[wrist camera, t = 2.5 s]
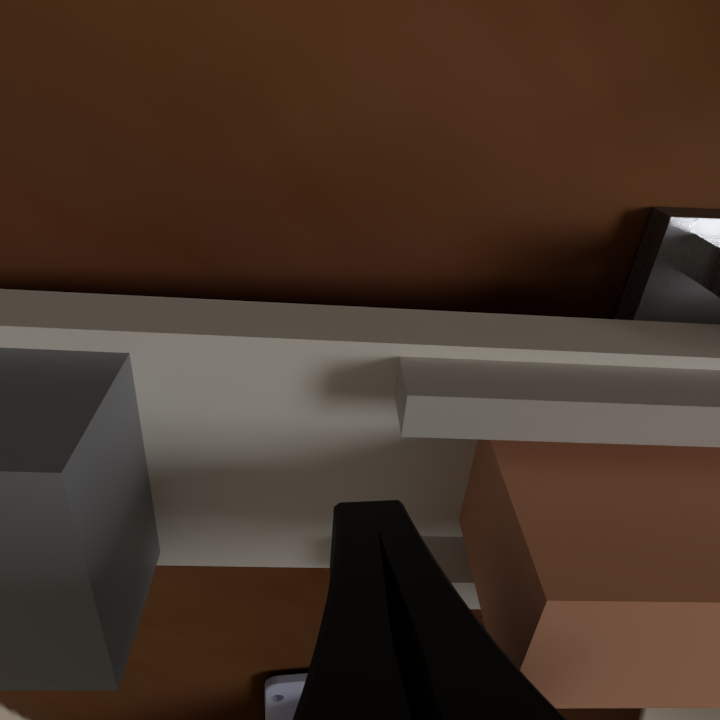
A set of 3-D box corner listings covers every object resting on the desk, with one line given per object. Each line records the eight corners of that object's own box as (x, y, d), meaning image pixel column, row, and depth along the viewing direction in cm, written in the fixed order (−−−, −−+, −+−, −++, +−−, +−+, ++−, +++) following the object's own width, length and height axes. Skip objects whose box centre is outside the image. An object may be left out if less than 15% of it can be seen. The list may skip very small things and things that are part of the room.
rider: (458, 520, 15) (505, 708, 11) (482, 420, 13) (547, 600, 9) (683, 525, 15) (805, 707, 11) (734, 429, 14) (899, 604, 10)
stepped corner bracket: (51, 534, 18) (-18, 706, 14) (-54, 179, 12) (-229, 281, 8) (894, 495, 23) (1041, 614, 18) (1104, 224, 17) (1390, 304, 13)
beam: (14, 522, 16) (-100, 711, 12) (-71, 272, 12) (-287, 420, 8) (1072, 544, 19) (1292, 706, 15) (1286, 342, 15) (1678, 483, 11)
